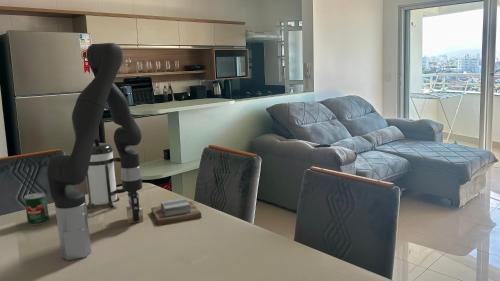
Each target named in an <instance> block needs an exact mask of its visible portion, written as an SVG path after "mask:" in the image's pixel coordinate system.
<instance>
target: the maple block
mask: <svg viewBox="0 0 500 281" xmlns="http://www.w3.org/2000/svg"><path fill="white" fill-rule="evenodd" d="M134 209H137V207H134ZM139 210H140V211H139V221H136V222H134V221H133V213H132V207H130V206H126V216H127V217H126V218H127V222H128V224H134V223H140V222H144V213H143V208H142V205H141V204H139Z"/></svg>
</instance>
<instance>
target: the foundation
mask: <svg viewBox="0 0 500 281" xmlns="http://www.w3.org/2000/svg"><path fill="white" fill-rule="evenodd" d="M151 213H152V215H153V217H154V220H155V221H156V223H157V225H158V226H161V225H166V224H171V223H172V224H173V223H179V222H185V221H189V220H195V219H201V218H202V212H201V211H200V210H199V208H198V207H197V206H196V205H195V204H194V202H192V200H191V201H187V199H186V198H185V197H181V198H175V199H170V200H169V199H167V200H162V201H160V205H159V206H152V207H151Z"/></svg>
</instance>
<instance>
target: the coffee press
mask: <svg viewBox="0 0 500 281" xmlns="http://www.w3.org/2000/svg"><path fill="white" fill-rule="evenodd" d="M100 141H101V140H100V138H98V137H97V138H96V137H95V141H94V145H93V149H92V154H91V159H90V164H89V169H88V172H87V175H86V177H85V179H86V187H87V195H88V196H87V198H88V203H87V204H86V209H87V208H88V209H89V210H91V209H92V208H93V206H103V205H104V206H105V205H108V207H109V208H114V203H113V202H115V201H117V202H118V201H119V200H120V198H119V197H118V194H124V193H127V192H126V191H123V189H122V188H117V182H116V172H115V162H118V163H121V161H120V157H114V147H112V145H111V144H109V143H106V142H105V143H104V142H100Z"/></svg>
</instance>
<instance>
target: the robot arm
mask: <svg viewBox="0 0 500 281" xmlns="http://www.w3.org/2000/svg"><path fill="white" fill-rule="evenodd" d="M85 53H86V55H85V56H86V61H87V63H88V66H89V68H90V70H91V72H92V74H93V76H94V78H93V79H92V80H91V81H90V82H89V84H87V86H85V87H84V88H83V90H82V91H81V92H80V94H79V95H78V96H77V99H76V101H75V104H74V107H73V109H72V110H73V111H72V112H71V121H72V122H71V123H72V126H73V127H72V128H73V130H74V136H75V138H74V139H75V140H74V145H73V148H72V152H71V153H70V155H67V154H58V155H54V156H53V157H52V158H50V159H49V161H48V163H47V167H46V175H47V176H46V177H47V181H48V182H47V183H48V186H49V187H48V188H49V193H50V197H51V199H52V201H53V203H54V207H55V216H56V223H57V226H56V227H57V232H58V242H59V248H60V255H61V258H62V259H65V261H68V262H69V261H72V260H77V259H82V258H87V257H88V255H90V253H92V245H91V237H90V228H89V220H88V211H87V202H86V201H87V200H86V195H85V193H84V192H82V190H79V189H78V188H77V187H76V186H78V185H80V184H82V183H83V182H84V181H85V179H86V175H87V172H88V169H89V164H90V159H91V154H92V149H93V145H94V144H95V142H94V141H95V139H96V137H97V135H98V134H97V132H98V129H99V126H100V124H101V122H102V118H103V114H104V112H105V109H106V105H107V106H108V109H109V112H110V116H111V120H112V122H113V123H114V124H116V125H117V126H119V127H118V128H116V129H115V130H114V132H113V141H114V145H115V148H116V150H117V153H118V155H119V158H120V161H121V162H120V176H121V178H120V179H121V187H122V188H121V189H123V191H126V192H125V193H127V199H128V205H129V207H132V213H133V221H134V222H135V223H137V222H136V221H139V211H140V210H139V205H140V195H139V193H138V191H140V190H141V189H143V180H142V171H141V166H140V164H141V163H140V155H139V152H138V151H136V150H133V148H131V147H133V146H136V147H137V146H138V145H139V144H140V143H141V141H142V138H143V137H142V131H141V128H140V126H139V125H138V124H137V121H135V118H133V116H132V114H131V110H130V106H129V103H128V100H127V98H126V97H125V94H124V93H123V92H122V91H121V89H119V87H118V86H117V85H116V84H115V80H116V77H117V75H118V73H119V70H120V68H121V65H122V62H123V50H122V48H121V46H120V45H119V44H117V43H114V42H106V43H105V42H104V43H93V44H91V45H89V46H88V47H87V49H86V52H85ZM134 207H137V209H134Z"/></svg>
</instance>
